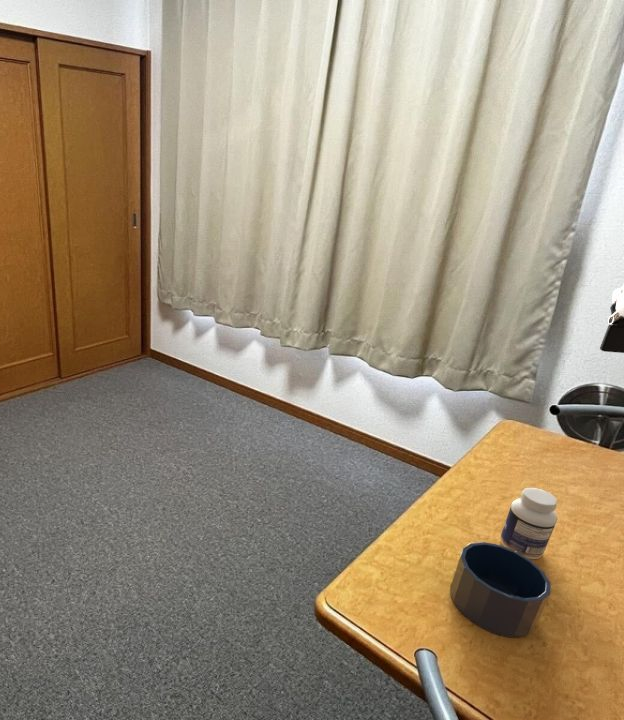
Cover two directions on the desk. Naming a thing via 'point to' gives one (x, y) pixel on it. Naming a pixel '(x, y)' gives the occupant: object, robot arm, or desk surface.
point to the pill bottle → (530, 523)
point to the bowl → (499, 589)
